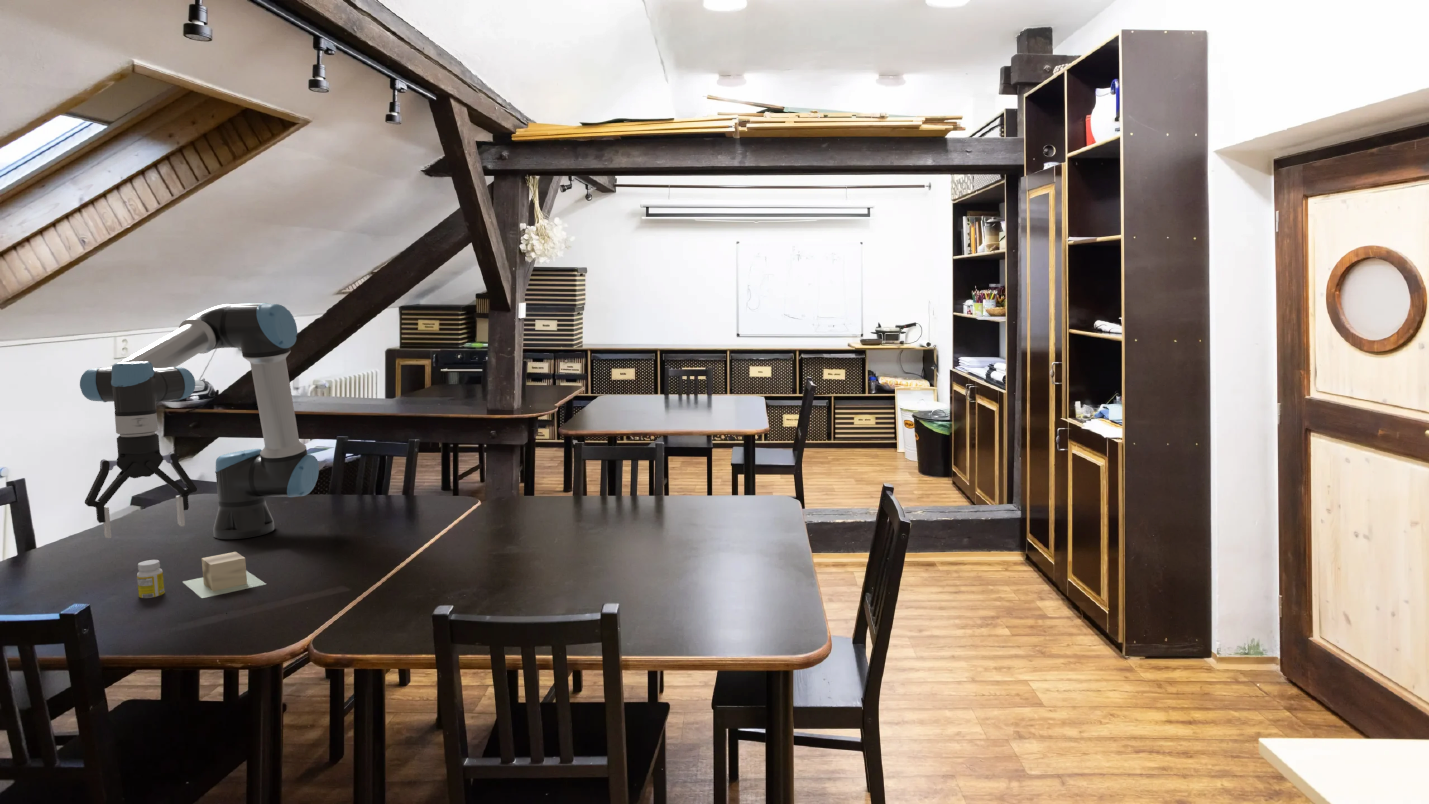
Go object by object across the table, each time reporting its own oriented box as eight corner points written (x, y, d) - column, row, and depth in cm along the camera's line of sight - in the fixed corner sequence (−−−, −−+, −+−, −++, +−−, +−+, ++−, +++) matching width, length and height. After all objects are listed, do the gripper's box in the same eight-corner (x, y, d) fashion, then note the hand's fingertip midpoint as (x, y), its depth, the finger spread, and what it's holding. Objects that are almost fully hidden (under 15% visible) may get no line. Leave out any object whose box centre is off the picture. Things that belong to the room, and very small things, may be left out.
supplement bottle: (159, 594, 194) (155, 557, 193) (169, 598, 191) (165, 561, 190) (135, 600, 190) (131, 563, 189) (145, 604, 187) (141, 566, 186)
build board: (182, 586, 199) (182, 581, 199) (244, 573, 208) (244, 568, 208) (202, 603, 187) (201, 598, 187) (266, 589, 197) (266, 584, 196)
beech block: (203, 583, 197) (201, 558, 196) (237, 576, 202) (235, 551, 201) (212, 591, 192) (210, 564, 191) (247, 583, 197) (245, 557, 196)
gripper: (69, 442, 175) (78, 545, 177) (207, 429, 192) (214, 523, 194) (62, 438, 180) (71, 538, 182) (198, 426, 197) (205, 517, 200)
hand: (145, 531), depth 188 cm, fingers open, 13 cm apart
